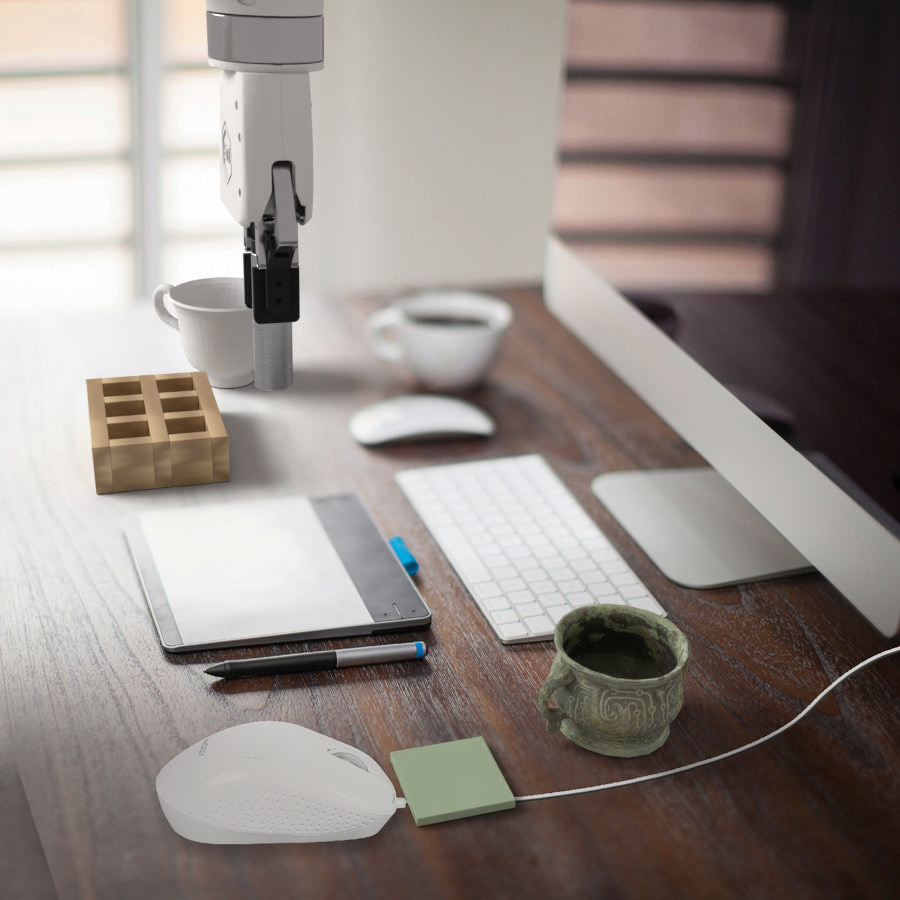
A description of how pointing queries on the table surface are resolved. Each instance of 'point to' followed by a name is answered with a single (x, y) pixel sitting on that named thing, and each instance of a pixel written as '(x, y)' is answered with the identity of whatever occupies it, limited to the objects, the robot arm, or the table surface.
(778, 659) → the table surface
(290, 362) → the steel peg
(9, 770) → the table surface
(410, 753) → the mat
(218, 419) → the desk rack
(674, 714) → the vessel
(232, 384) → the teacup
